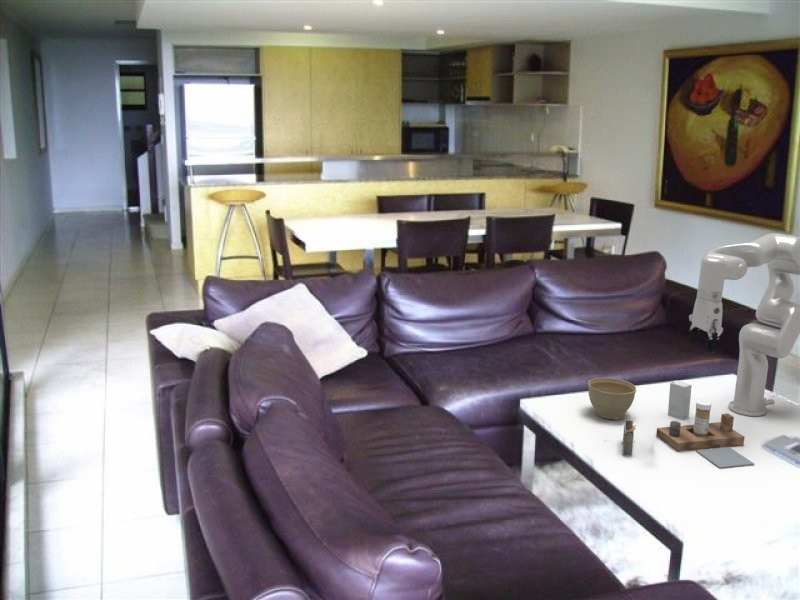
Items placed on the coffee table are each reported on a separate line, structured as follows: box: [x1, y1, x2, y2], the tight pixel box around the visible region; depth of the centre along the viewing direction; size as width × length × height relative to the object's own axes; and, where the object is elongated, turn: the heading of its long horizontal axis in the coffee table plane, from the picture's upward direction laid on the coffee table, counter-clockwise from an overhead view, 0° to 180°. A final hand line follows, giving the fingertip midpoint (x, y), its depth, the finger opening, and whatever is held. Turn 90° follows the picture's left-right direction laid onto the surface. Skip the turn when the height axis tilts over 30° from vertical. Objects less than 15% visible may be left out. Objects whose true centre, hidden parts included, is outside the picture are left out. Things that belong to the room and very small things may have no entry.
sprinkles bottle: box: [693, 399, 712, 437], centre depth 254 cm, size 5×5×14 cm
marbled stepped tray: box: [622, 419, 637, 457], centre depth 248 cm, size 11×3×10 cm, turn 165°
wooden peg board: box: [656, 413, 746, 453], centre depth 255 cm, size 24×12×8 cm, turn 104°
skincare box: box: [667, 380, 692, 420], centre depth 274 cm, size 6×4×12 cm
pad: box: [695, 447, 755, 470], centre depth 243 cm, size 12×12×1 cm
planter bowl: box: [587, 377, 637, 420], centre depth 274 cm, size 16×16×11 cm
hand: (702, 346), depth 257 cm, fingers open, 9 cm apart
